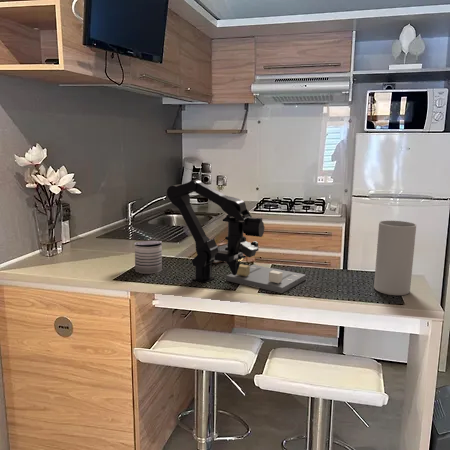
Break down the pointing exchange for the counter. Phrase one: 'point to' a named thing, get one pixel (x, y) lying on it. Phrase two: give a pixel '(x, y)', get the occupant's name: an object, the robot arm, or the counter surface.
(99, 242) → the counter surface
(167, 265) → the counter surface
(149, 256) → the can
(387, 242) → the cylinder vase
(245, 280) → the fader panel
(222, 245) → the tin
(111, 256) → the counter surface
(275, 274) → the block
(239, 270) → the brass fader
